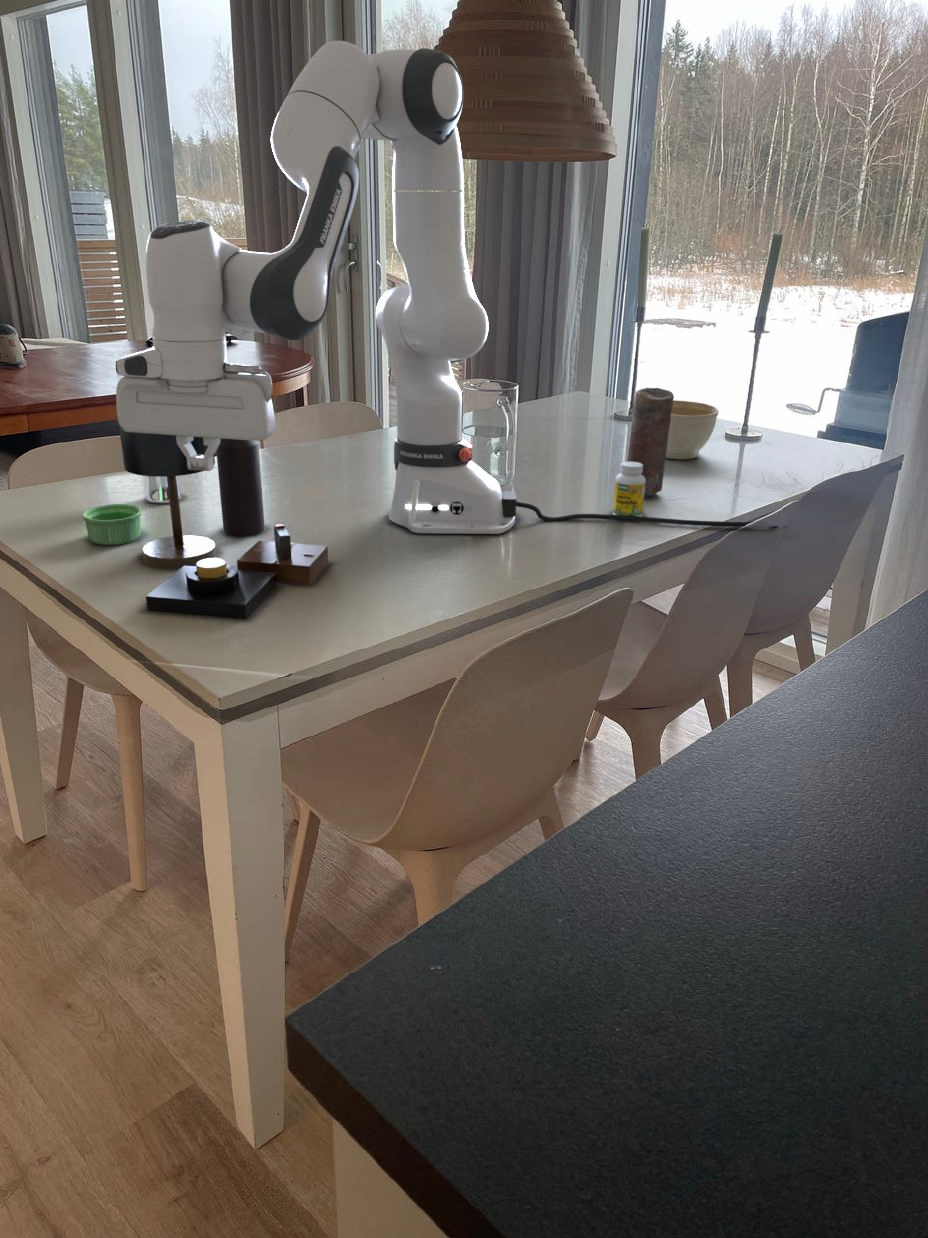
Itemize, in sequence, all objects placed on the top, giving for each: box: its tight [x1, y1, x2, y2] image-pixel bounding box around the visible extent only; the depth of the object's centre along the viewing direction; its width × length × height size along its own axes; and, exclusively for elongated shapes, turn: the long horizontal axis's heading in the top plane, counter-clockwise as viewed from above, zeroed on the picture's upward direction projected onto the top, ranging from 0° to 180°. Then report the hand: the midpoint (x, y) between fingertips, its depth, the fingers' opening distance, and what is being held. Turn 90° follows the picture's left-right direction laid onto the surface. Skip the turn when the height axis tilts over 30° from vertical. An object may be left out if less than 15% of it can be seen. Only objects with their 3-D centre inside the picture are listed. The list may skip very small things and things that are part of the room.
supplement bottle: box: [612, 461, 646, 517], centre depth 167 cm, size 5×5×10 cm
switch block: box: [145, 563, 278, 621], centre depth 129 cm, size 14×12×4 cm
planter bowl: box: [666, 399, 720, 461], centre depth 209 cm, size 16×16×11 cm
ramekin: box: [82, 503, 142, 546], centre depth 151 cm, size 9×9×4 cm
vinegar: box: [215, 438, 266, 537], centre depth 153 cm, size 7×7×20 cm
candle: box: [626, 387, 675, 497], centre depth 178 cm, size 8×7×20 cm
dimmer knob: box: [273, 523, 292, 559], centre depth 138 cm, size 5×2×4 cm, turn 21°
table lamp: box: [115, 406, 217, 569], centre depth 140 cm, size 13×13×24 cm
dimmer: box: [236, 540, 329, 586], centre depth 139 cm, size 11×9×3 cm
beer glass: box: [146, 476, 182, 505], centre depth 169 cm, size 7×7×15 cm
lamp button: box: [196, 557, 227, 578], centre depth 128 cm, size 4×4×2 cm
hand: (201, 469), depth 122 cm, fingers closed
